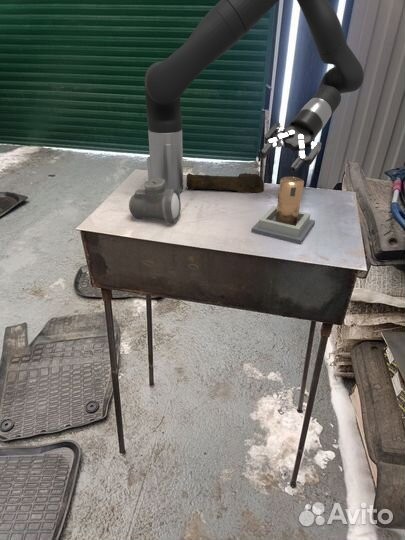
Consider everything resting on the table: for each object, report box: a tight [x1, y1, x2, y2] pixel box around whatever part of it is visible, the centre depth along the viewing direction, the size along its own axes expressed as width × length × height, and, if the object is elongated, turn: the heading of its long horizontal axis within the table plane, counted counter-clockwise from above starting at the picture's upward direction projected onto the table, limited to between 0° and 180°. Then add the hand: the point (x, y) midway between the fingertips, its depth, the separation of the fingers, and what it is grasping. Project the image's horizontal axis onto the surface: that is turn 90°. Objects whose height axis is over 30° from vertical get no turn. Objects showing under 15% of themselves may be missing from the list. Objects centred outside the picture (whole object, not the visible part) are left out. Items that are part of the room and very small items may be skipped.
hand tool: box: [185, 172, 265, 194], centre depth 111 cm, size 23×5×6 cm, turn 81°
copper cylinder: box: [275, 176, 305, 226], centre depth 88 cm, size 5×5×11 cm
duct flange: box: [250, 205, 316, 245], centre depth 92 cm, size 12×12×3 cm
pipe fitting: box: [128, 178, 182, 223], centre depth 94 cm, size 12×8×10 cm, turn 76°
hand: (276, 163), depth 98 cm, fingers open, 8 cm apart
